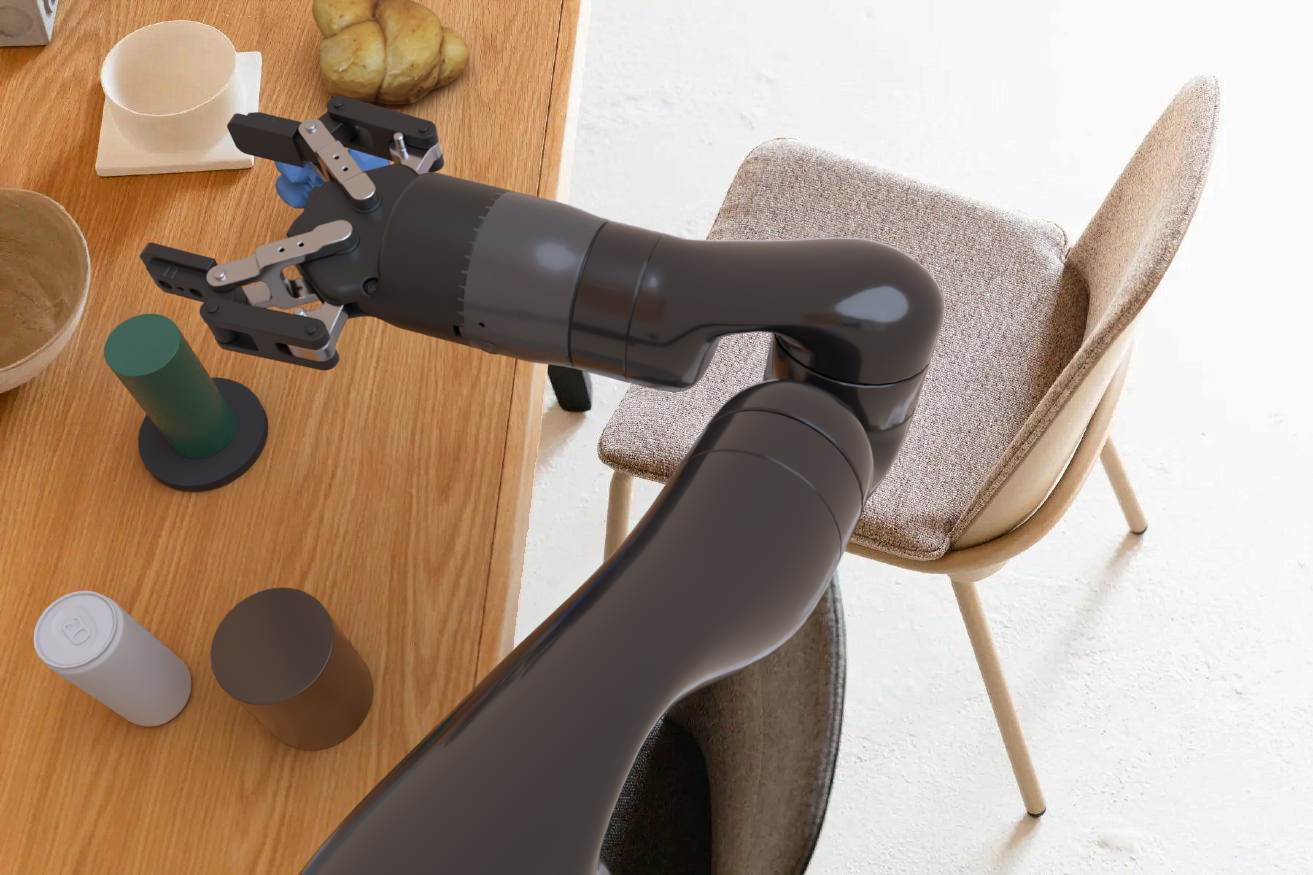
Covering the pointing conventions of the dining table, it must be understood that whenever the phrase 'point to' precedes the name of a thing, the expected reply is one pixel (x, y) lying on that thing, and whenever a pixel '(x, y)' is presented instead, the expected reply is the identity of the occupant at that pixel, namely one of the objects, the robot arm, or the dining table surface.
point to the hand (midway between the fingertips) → (193, 194)
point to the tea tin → (170, 385)
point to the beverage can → (112, 658)
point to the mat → (216, 467)
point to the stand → (292, 668)
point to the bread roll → (386, 50)
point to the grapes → (313, 178)
